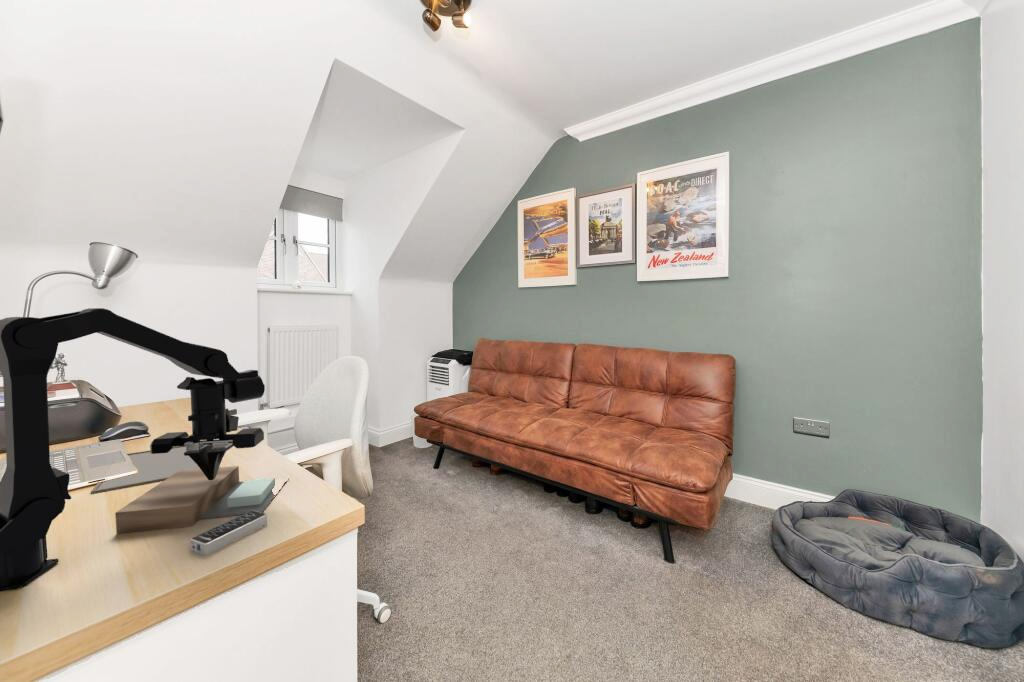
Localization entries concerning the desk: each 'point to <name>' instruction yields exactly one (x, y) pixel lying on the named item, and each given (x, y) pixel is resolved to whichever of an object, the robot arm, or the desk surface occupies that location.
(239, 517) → the multiport hub
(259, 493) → the block
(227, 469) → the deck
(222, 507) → the mat
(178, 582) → the desk surface
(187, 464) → the thin grey panel
